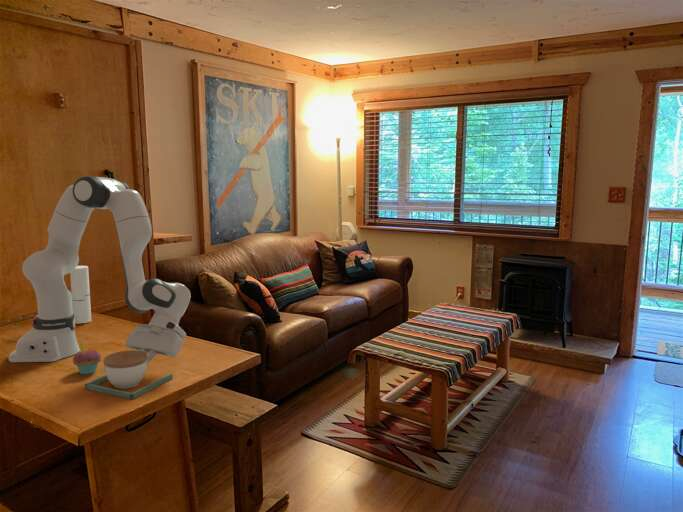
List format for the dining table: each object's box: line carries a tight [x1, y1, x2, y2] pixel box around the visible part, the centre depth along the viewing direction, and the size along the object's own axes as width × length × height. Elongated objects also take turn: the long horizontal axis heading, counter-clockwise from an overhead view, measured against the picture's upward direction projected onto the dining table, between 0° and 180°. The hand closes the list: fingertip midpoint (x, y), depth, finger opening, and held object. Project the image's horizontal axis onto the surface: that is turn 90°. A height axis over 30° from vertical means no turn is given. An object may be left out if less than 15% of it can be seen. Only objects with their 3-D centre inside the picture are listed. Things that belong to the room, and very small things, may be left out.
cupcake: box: [72, 339, 102, 375], centre depth 172 cm, size 9×8×12 cm
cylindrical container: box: [69, 265, 92, 323], centre depth 226 cm, size 7×7×25 cm
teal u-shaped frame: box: [84, 373, 174, 400], centre depth 164 cm, size 18×19×2 cm
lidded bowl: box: [103, 349, 148, 390], centre depth 162 cm, size 13×13×11 cm
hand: (142, 363), depth 169 cm, fingers closed
